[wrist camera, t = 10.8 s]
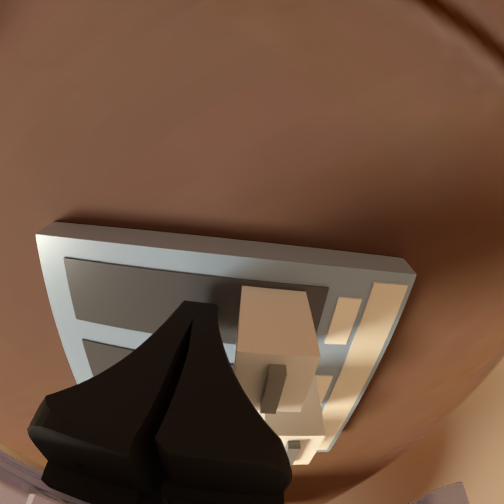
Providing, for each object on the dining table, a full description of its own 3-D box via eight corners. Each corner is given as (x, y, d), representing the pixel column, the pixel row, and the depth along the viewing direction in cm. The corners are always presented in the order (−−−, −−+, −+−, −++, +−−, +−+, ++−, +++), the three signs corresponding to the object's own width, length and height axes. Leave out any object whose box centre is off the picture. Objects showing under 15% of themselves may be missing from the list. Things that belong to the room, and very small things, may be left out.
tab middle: (302, 408, 15) (309, 471, 11) (256, 406, 15) (256, 471, 11) (315, 374, 14) (327, 443, 10) (264, 371, 14) (265, 443, 10)
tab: (292, 346, 13) (301, 421, 9) (235, 341, 13) (229, 417, 9) (306, 291, 12) (322, 366, 8) (242, 285, 12) (236, 361, 8)
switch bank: (326, 434, 19) (328, 452, 17) (101, 408, 18) (94, 425, 17) (403, 258, 13) (417, 275, 11) (53, 221, 12) (34, 234, 11)
